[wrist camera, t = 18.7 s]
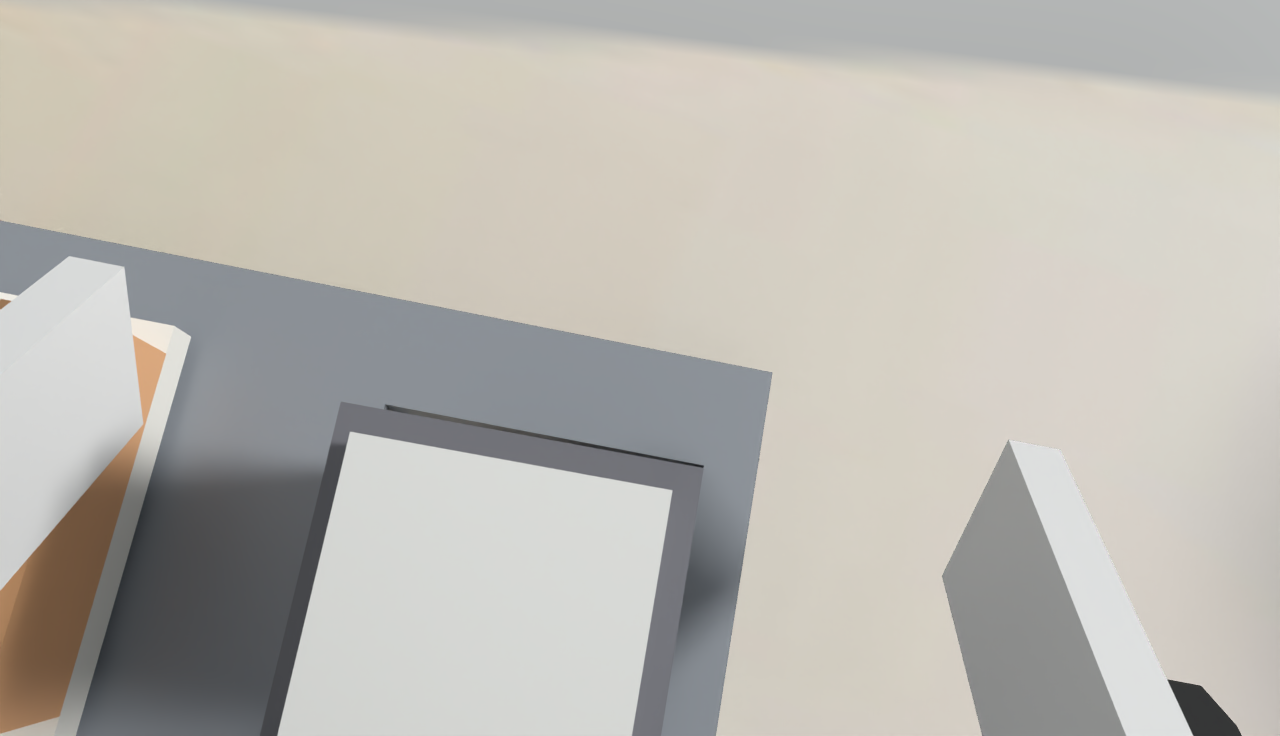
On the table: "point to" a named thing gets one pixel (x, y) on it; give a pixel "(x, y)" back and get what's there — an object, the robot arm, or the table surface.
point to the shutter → (82, 563)
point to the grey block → (483, 586)
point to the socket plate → (298, 448)
